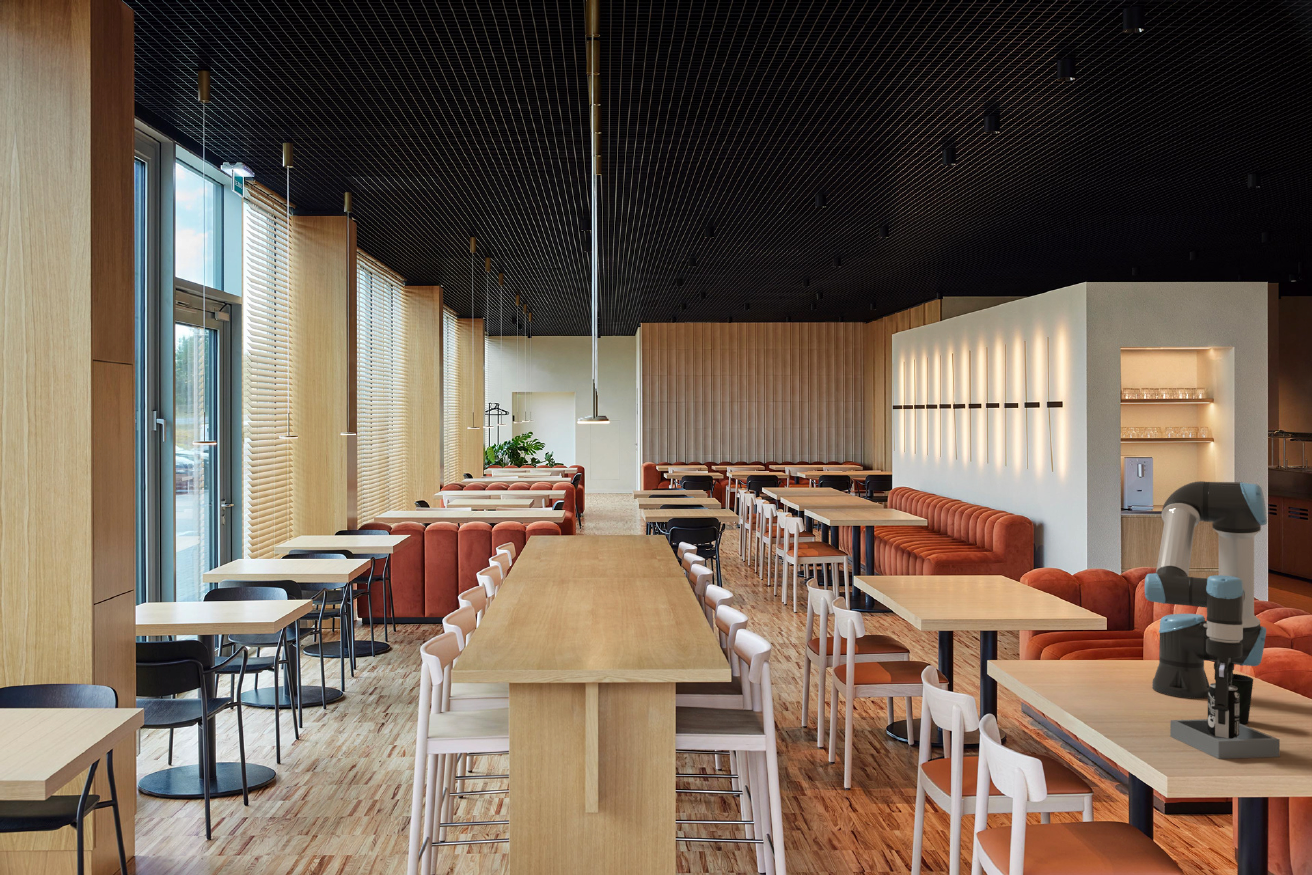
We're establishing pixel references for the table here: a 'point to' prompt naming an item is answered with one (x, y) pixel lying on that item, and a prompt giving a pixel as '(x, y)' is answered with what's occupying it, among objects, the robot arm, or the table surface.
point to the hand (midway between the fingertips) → (1223, 732)
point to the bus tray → (1225, 740)
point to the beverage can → (1232, 708)
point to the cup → (1243, 696)
